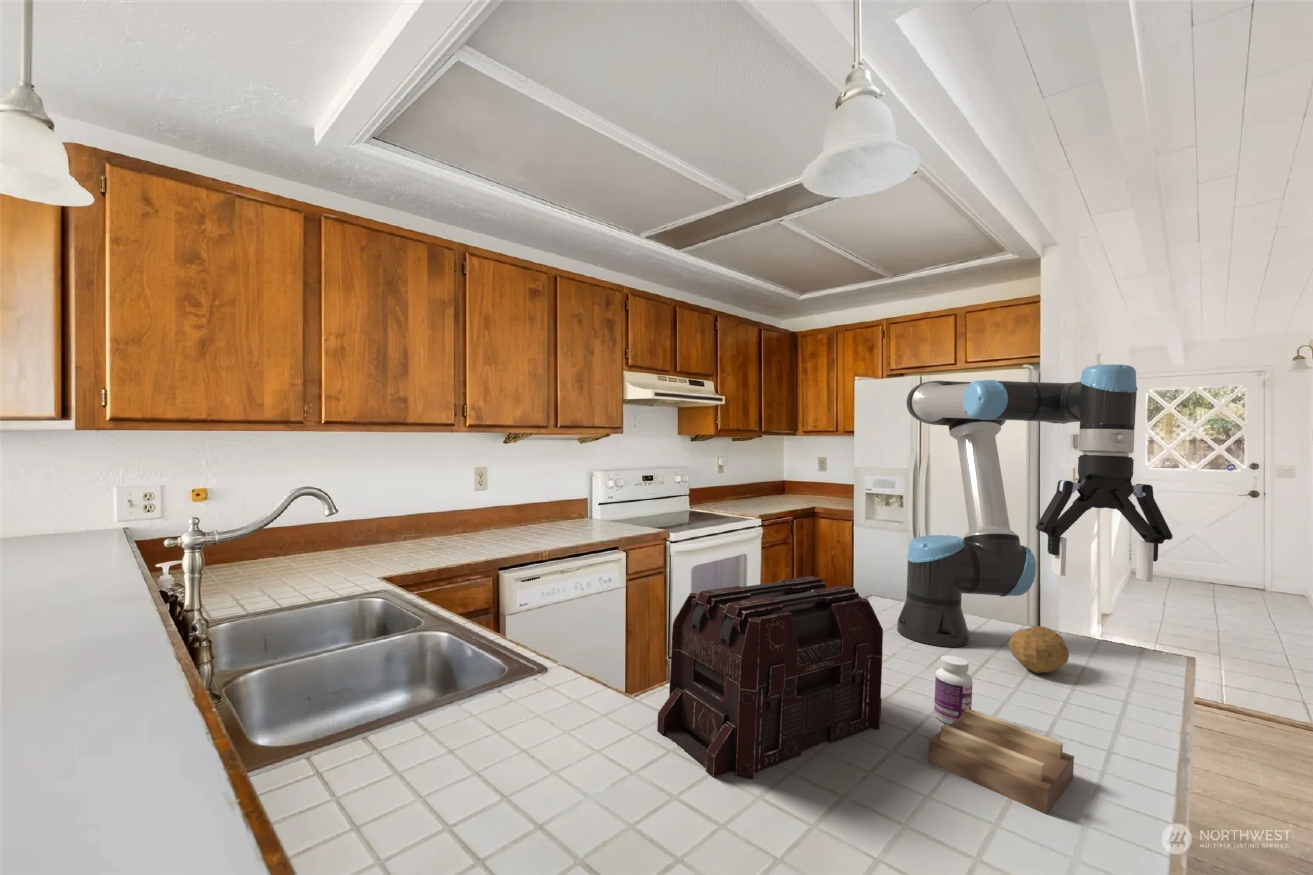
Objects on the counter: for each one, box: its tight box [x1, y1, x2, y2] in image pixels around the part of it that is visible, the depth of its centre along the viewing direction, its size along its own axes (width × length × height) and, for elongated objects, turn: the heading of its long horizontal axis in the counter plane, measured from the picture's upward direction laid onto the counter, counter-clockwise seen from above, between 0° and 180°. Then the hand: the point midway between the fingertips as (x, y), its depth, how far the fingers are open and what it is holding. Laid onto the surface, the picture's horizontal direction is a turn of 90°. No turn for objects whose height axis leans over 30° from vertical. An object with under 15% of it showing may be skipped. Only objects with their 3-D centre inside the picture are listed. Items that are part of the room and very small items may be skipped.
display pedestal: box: [927, 708, 1075, 815], centre depth 77 cm, size 14×12×5 cm
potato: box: [1008, 625, 1070, 674], centre depth 114 cm, size 10×14×8 cm
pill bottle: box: [933, 655, 974, 725], centre depth 91 cm, size 5×5×10 cm
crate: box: [656, 575, 884, 780], centre depth 87 cm, size 35×19×21 cm, turn 123°
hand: (1100, 577), depth 97 cm, fingers open, 13 cm apart
